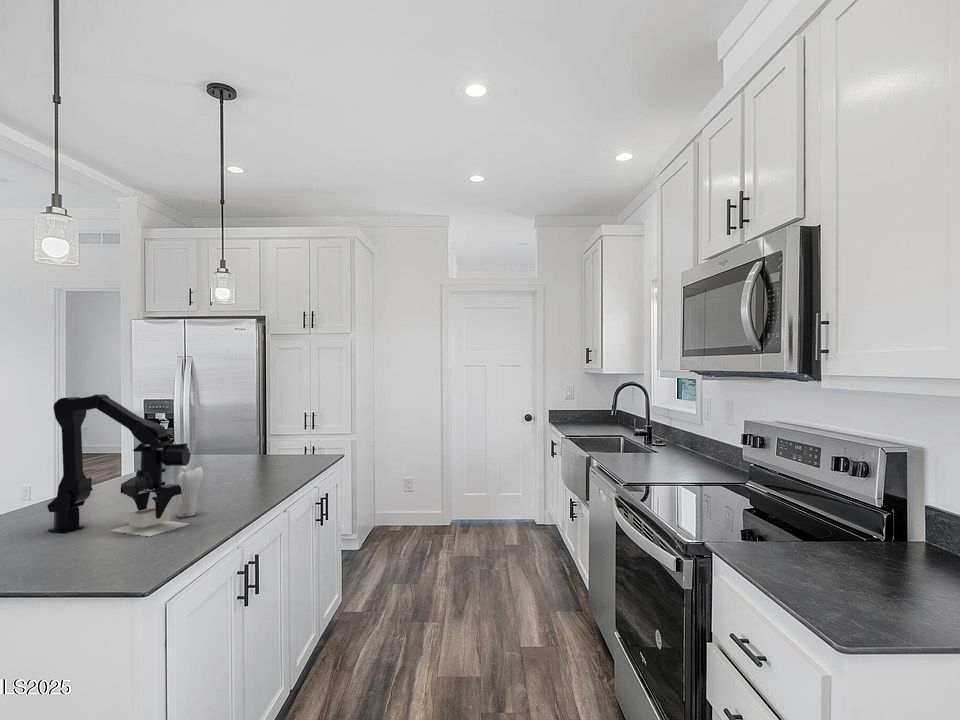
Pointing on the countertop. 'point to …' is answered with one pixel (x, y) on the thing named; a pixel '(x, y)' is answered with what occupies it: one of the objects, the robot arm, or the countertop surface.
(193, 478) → the shell sculpture
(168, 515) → the card box
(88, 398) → the robot arm
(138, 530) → the mat
